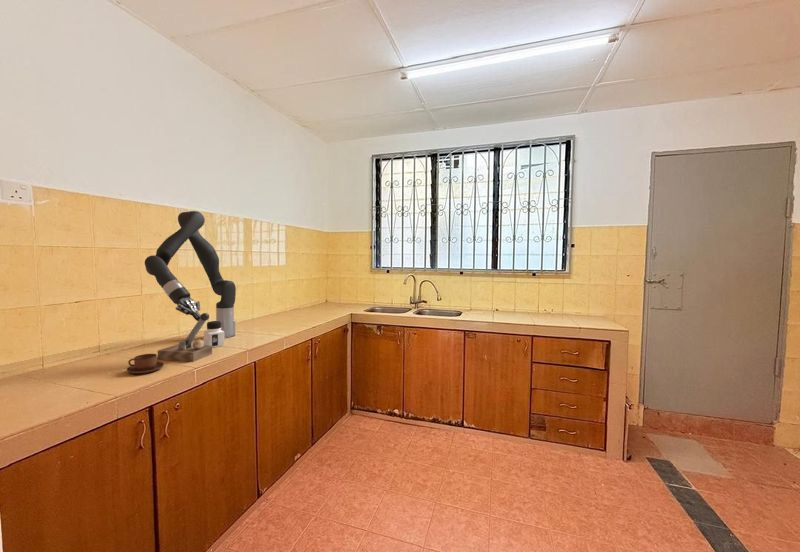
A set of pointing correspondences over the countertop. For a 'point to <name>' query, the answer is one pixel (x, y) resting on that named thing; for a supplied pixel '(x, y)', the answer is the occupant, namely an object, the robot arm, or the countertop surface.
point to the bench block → (185, 351)
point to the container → (214, 334)
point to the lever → (196, 328)
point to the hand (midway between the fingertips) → (199, 319)
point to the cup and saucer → (144, 364)
